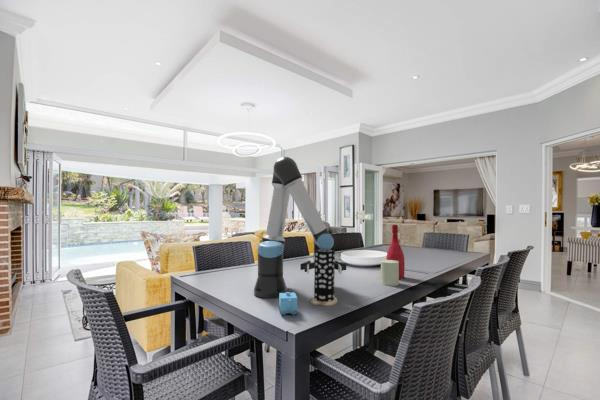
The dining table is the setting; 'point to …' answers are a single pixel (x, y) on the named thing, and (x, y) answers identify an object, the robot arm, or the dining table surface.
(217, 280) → the dining table surface
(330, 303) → the birch coaster
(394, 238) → the wine bottle
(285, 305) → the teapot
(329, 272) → the white-spotted black cylinder
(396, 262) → the can
